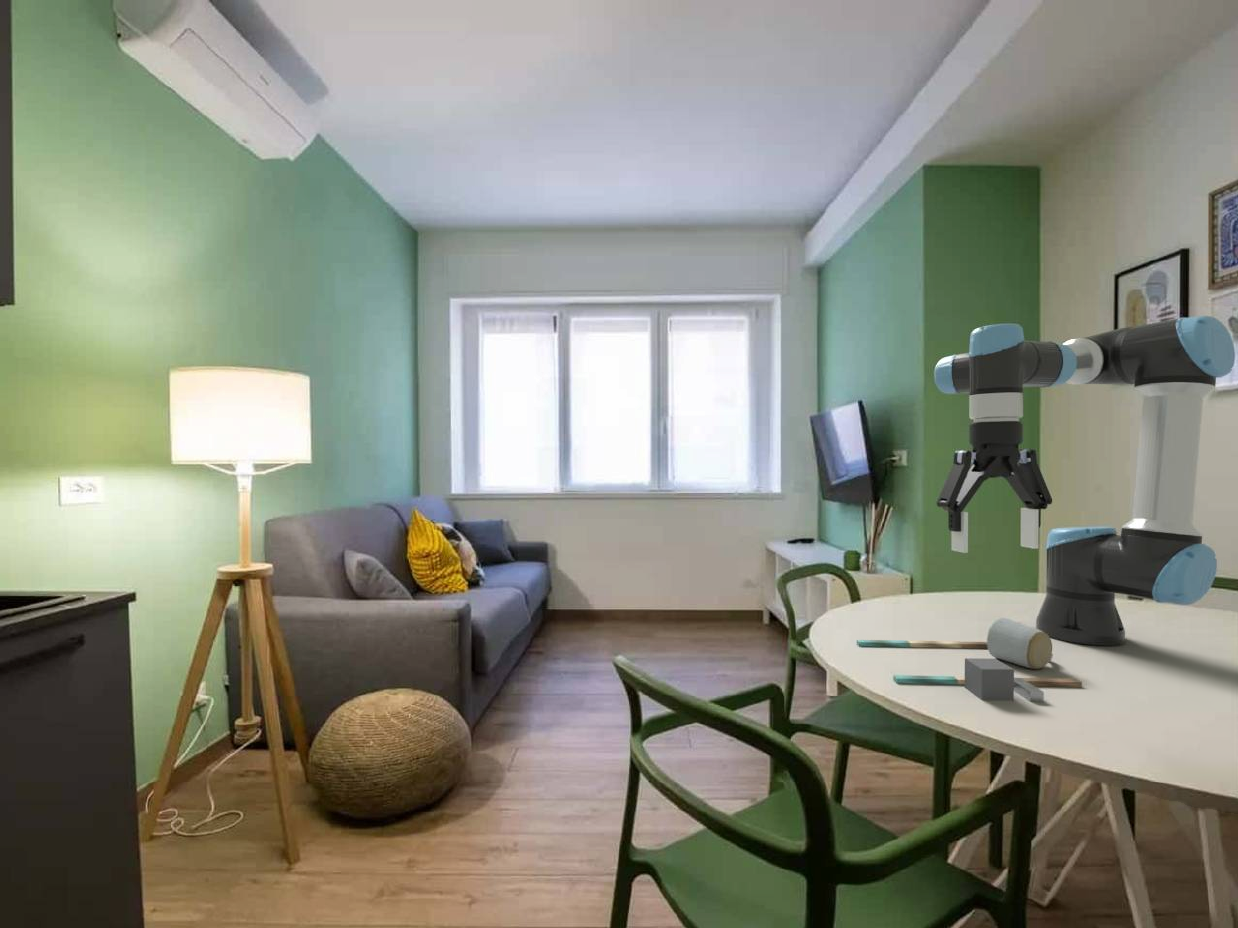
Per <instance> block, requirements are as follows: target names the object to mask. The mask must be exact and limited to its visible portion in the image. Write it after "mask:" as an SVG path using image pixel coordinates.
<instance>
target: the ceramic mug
mask: <svg viewBox="0 0 1238 928" xmlns="http://www.w3.org/2000/svg"><path fill="white" fill-rule="evenodd" d="M986 642H987V647H988V648H987V650H988V653H989V654H990V655H991V656H992V657H993V658H994V659H997V660H998V659H999V660H1002V661H1005V662H1008V663H1011V664H1015V665H1018V666H1021V667H1024V668H1027V669H1030V670H1031V669H1033V670H1040V669H1042V668H1044V667H1045V666H1046V665H1047V664H1048V663H1051V661H1052V659H1053V655H1054V653H1053V642H1052V639H1051V637H1050V636H1048V635H1047V634H1046V633H1044V632H1043V631H1041V630H1039V629H1036V627H1032V626H1030V625H1026V624H1024V623H1020V622H1017V621H1015V620H1013V619H1009V618H1007V617H1006V618H1005V617H1000V618H997V619H996V620H995V621H993V623H991V625H990V627H989V629H988V632H987V636H986Z"/></svg>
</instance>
